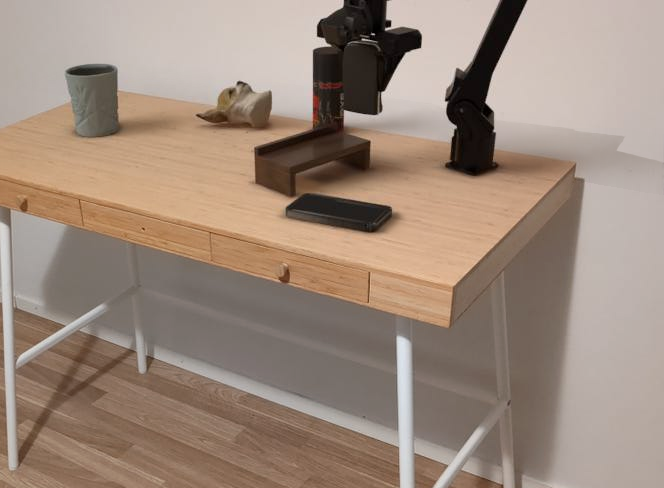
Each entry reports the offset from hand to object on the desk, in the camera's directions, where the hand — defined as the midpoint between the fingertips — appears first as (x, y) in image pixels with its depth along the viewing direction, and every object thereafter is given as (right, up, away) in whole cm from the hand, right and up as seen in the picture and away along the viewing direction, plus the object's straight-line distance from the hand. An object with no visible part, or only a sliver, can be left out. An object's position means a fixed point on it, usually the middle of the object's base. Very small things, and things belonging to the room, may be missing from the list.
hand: (365, 87), depth 149 cm
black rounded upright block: (0, -4, +2) cm, 4 cm away
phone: (-6, -23, -12) cm, 27 cm away
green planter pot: (-49, +1, +31) cm, 58 cm away
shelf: (-8, -14, +3) cm, 17 cm away
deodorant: (-3, -1, +23) cm, 24 cm away
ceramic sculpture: (-20, +2, +30) cm, 36 cm away
